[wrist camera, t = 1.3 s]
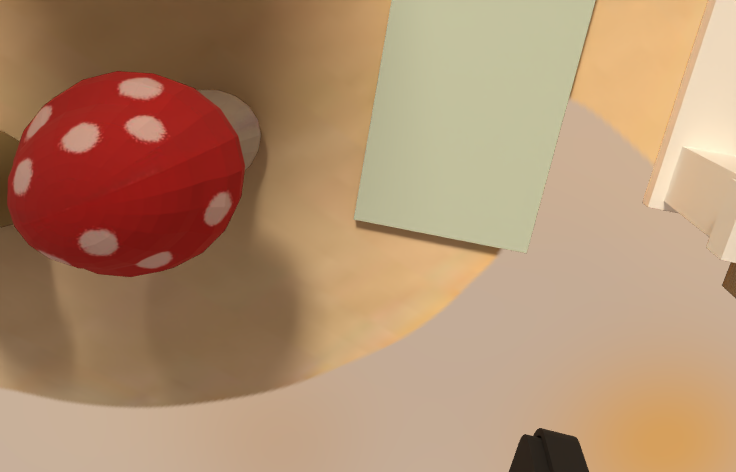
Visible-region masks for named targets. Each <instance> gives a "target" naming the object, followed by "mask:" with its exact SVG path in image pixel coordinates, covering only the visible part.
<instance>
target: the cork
mask: <svg viewBox="0 0 736 472" xmlns="http://www.w3.org/2000/svg"><path fill="white" fill-rule="evenodd" d="M19 143H20V142H19V141H18V140H16V139H14V138H13V137H11V136H9V135H8V134H6V133H5V132H2V131H0V227H4V226H8V225H12V224H13V221H12V218H11V215H10V212H9V209H8V206H7V193H8V177H9V174H10V172H11V169H12V166H13V160H14V157H15V154H16V151H17V149H18V146H19Z"/></svg>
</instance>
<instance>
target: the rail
mask: <svg viewBox="0 0 736 472" xmlns="http://www.w3.org/2000/svg"><path fill="white" fill-rule="evenodd" d="M722 286H723V287H724V288H725V289H726V290H727V291H728V292H730V293H731V294H732V295H733V296H734V297H735V298H736V263H733V262H731V264H730V266H729V269H728V271H727V274H726V277H725V279H724V282H723V284H722Z"/></svg>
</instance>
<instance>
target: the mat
mask: <svg viewBox="0 0 736 472" xmlns="http://www.w3.org/2000/svg"><path fill="white" fill-rule="evenodd" d="M595 1H596V0H392V2H391V7H390V13H389V19H388V25H387V30H386V36H385V42H384V48H383V53H382V59H381V65H380V71H379V76H378V82H377V88H376V94H375V100H374V105H373V111H372V117H371V123H370V128H369V134H368V140H367V146H366V151H365V157H364V163H363V169H362V174H361V180H360V186H359V192H358V197H357V203H356V209H355V215H354V220H359V221H364V222H369V223H374V224H379V225H384V226H389V227H395V228H400V229H405V230H410V231H415V232H420V233H425V234H430V235H435V236H440V237H446V238H451V239H456V240H461V241H466V242H471V243H476V244H481V245H486V246H491V247H496V248H502V249H507V250H512V251H517V252H522V253H527V250H528V247H529V243H530V239H531V235H532V232H533V228H534V225H535V221H536V217H537V214H538V210H539V206H540V202H541V199H542V195H543V192H544V188H545V184H546V181H547V177H548V173H549V170H550V166H551V162H552V159H553V155H554V151H555V147H556V144H557V140H558V137H559V133H560V129H561V125H562V122H563V118H564V115H565V111H566V107H567V104H568V100H569V96H570V93H571V89H572V85H573V82H574V78H575V74H576V70H577V67H578V63H579V59H580V56H581V52H582V48H583V45H584V41H585V37H586V34H587V30H588V26H589V23H590V19H591V15H592V12H593V8H594V4H595Z"/></svg>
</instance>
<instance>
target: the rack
mask: <svg viewBox="0 0 736 472" xmlns="http://www.w3.org/2000/svg"><path fill="white" fill-rule="evenodd" d="M642 203H644V204H645V205H646V206H647V207H649V208H654V209H659V210H664V211H670V212H675V213H680V214H681V215H682V216H683V217H685V218H686V219H687V220H688V221H690V222H691V223H692V224H693V225H695V226H696V227H697V228H698V229H700V230H701V231H702V232H703V233H705V234H706V235H707V236H709V240H708V243H707V246H706V248H707V249H708V250H709V251H711V252H712V253H713V254H714V255H715V256H716V257H718V258H719V259H720V260H723V261H729V262H733V263H736V0H708V3H707V6H706V9H705V12H704V15H703V18H702V21H701V24H700V27H699V30H698V33H697V36H696V39H695V42H694V45H693V49H692V52H691V55H690V58H689V61H688V64H687V67H686V70H685V73H684V76H683V79H682V82H681V85H680V88H679V91H678V94H677V98H676V101H675V104H674V107H673V110H672V113H671V116H670V119H669V122H668V125H667V128H666V131H665V134H664V137H663V140H662V143H661V146H660V150H659V153H658V156H657V159H656V162H655V165H654V168H653V171H652V174H651V177H650V180H649V183H648V186H647V189H646V192H645V195H644V199H643V202H642Z"/></svg>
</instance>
